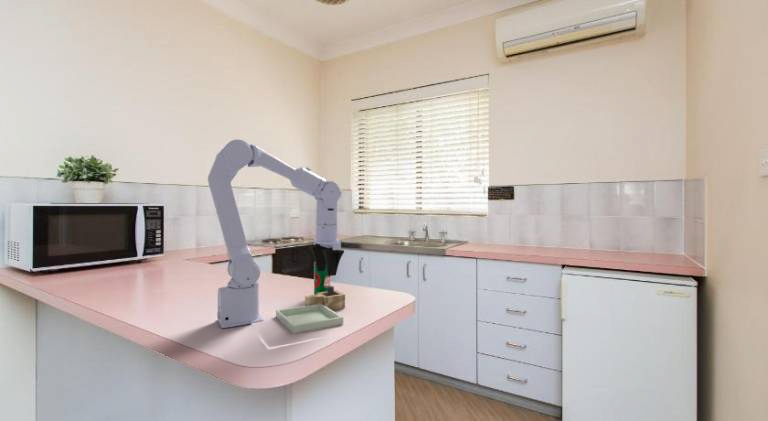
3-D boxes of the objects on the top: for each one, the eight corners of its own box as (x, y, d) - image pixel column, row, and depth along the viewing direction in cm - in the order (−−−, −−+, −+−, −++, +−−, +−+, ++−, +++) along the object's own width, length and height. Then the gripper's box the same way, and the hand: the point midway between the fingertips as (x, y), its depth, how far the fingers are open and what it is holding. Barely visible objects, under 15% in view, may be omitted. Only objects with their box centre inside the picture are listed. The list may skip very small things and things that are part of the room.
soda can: (327, 300, 108) (327, 260, 108) (311, 299, 109) (311, 260, 109) (332, 296, 113) (332, 258, 113) (317, 295, 114) (317, 257, 114)
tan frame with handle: (310, 312, 94) (310, 299, 94) (302, 307, 99) (302, 294, 99) (345, 307, 100) (345, 294, 99) (336, 302, 105) (336, 290, 105)
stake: (324, 312, 96) (324, 290, 96) (316, 306, 101) (316, 285, 101) (345, 308, 100) (345, 287, 99) (336, 303, 105) (336, 283, 105)
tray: (293, 335, 79) (293, 326, 79) (275, 318, 91) (275, 310, 91) (343, 325, 86) (343, 317, 86) (321, 310, 98) (321, 303, 98)
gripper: (351, 225, 96) (350, 276, 96) (329, 223, 108) (329, 267, 108) (326, 226, 92) (326, 278, 92) (307, 223, 104) (306, 269, 105)
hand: (326, 273), depth 100 cm, fingers open, 7 cm apart
